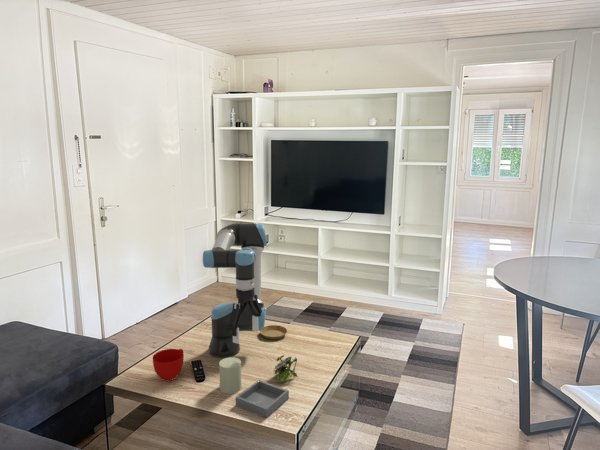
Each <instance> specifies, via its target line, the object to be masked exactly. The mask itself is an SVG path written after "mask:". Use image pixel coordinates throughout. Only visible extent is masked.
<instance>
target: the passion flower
mask: <svg viewBox="0 0 600 450" xmlns="http://www.w3.org/2000/svg"><path fill="white" fill-rule="evenodd" d="M284 356H285V355H284V354H283V355H280V356H278V357H277V359H276V361H277V362H278V361H280V362H279V363H277V364H276V365H275V366H274V367H275V368H274V370H273V372H274V374H275V375H277V374H278V375H277V383H283V382H286V381H288V380H289V379H290V378H292V376H293V378H295V377H296V378H297V377H298V375H297V373H296V372H295V370H296V365H297V361H298V358H297V357H294V358H293V359H292V356H288V357H286V358H285V359H282V358H283V357H284ZM293 363H294V368H293V369H291V367H292V364H293Z"/></svg>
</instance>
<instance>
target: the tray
mask: <svg viewBox="0 0 600 450" xmlns="http://www.w3.org/2000/svg"><path fill="white" fill-rule="evenodd" d="M289 396H290V391H289V390H288V389H286V388H282V387H279V386H276V385H274V384H272V383H270V382H269V383H268V382H266V381H263V380H260V379H257V381H255V382H254V383H253V384H251V385H250V386H249V387H247V388H246V389H245V390H243V391H242V392H240V393H239V394H237V396H235V406H237V407H240V408H242V409H243V410H247V411H248V410H249V412H251V413H254V414H255V415H259V416H260V415H261V417H263V418H265V417H266V418H265V419H268V418H269V417H270V416H271V415H272V414H273V413H274V412H275V411H277V410H278V409H279V408H280V407H281V406H283V404H284V403H285V402H287V401H288V400H289V398H290V397H289ZM270 414H271V415H270Z"/></svg>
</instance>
